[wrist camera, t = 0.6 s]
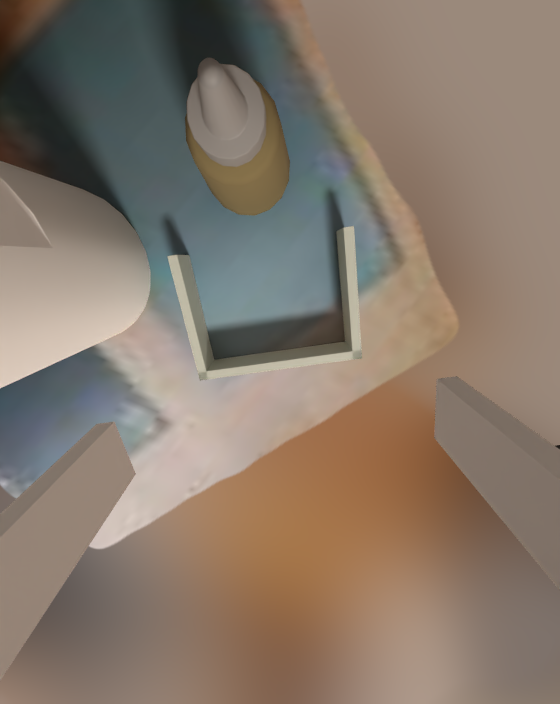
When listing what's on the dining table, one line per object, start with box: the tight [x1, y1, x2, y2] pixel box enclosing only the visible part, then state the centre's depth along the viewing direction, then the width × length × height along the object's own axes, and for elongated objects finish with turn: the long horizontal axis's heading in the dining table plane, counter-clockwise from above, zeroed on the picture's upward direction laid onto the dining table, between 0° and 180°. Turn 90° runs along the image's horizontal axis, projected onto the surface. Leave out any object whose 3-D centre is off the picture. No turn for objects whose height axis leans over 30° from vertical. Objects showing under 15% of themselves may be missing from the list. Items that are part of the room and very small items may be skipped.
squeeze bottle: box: [185, 58, 290, 215], centre depth 21 cm, size 8×8×18 cm
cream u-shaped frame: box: [168, 226, 362, 380], centre depth 32 cm, size 14×19×4 cm
